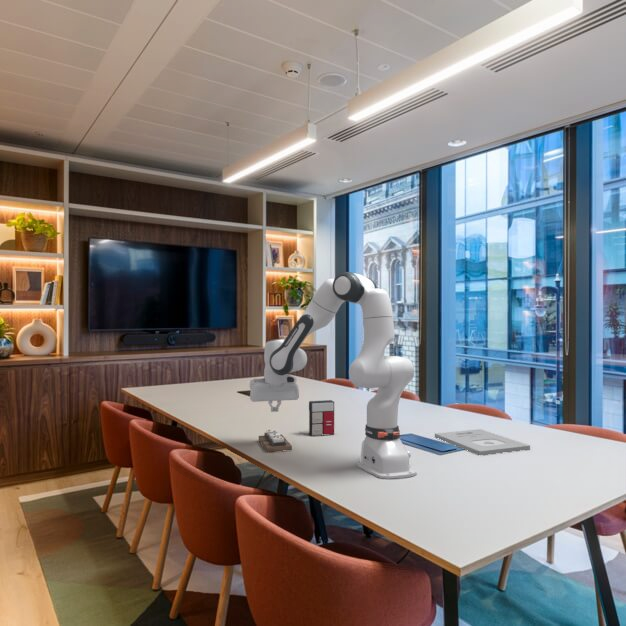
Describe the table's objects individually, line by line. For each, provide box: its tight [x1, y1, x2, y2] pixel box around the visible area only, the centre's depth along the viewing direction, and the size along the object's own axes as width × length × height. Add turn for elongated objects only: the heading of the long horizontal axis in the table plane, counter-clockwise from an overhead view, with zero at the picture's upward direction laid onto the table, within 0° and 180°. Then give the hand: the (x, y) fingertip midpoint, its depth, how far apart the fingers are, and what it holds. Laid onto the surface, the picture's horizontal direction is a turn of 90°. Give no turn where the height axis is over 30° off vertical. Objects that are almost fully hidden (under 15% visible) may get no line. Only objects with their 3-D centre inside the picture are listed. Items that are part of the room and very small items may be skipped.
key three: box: [272, 436, 284, 443], centre depth 198 cm, size 4×4×2 cm
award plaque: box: [434, 428, 531, 456], centre depth 208 cm, size 25×30×2 cm
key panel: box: [258, 432, 293, 453], centre depth 204 cm, size 19×10×3 cm, turn 16°
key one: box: [269, 432, 281, 439], centre depth 204 cm, size 4×4×2 cm
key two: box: [265, 429, 279, 435], centre depth 210 cm, size 4×4×2 cm
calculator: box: [308, 399, 335, 436], centre depth 222 cm, size 11×4×15 cm, turn 105°
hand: (274, 411), depth 204 cm, fingers closed
